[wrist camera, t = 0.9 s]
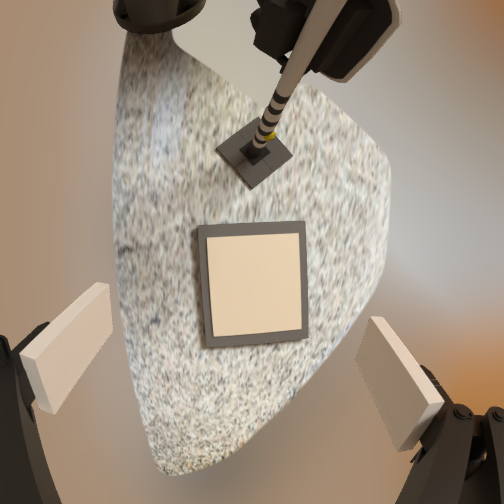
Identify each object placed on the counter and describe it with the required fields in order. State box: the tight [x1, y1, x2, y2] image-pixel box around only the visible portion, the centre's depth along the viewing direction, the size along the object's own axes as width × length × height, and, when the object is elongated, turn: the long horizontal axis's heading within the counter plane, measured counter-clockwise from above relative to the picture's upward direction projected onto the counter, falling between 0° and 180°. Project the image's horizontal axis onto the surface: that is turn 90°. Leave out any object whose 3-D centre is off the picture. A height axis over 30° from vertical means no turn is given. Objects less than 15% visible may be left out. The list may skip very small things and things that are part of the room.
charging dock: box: [198, 221, 308, 347], centre depth 37 cm, size 15×13×2 cm
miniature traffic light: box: [217, 0, 402, 189], centre depth 22 cm, size 7×8×30 cm
